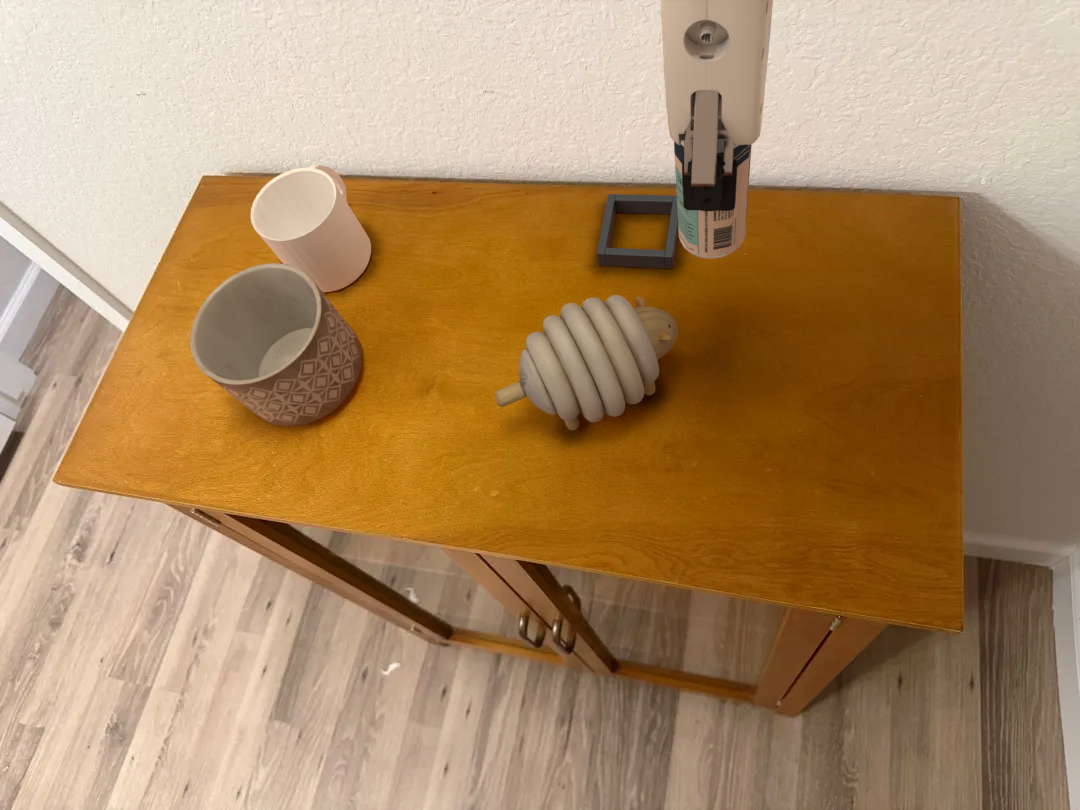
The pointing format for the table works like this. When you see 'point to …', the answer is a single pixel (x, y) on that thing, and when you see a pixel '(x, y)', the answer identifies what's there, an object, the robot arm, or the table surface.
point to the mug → (312, 226)
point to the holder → (638, 256)
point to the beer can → (714, 228)
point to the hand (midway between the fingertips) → (713, 170)
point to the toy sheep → (593, 359)
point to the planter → (276, 344)
